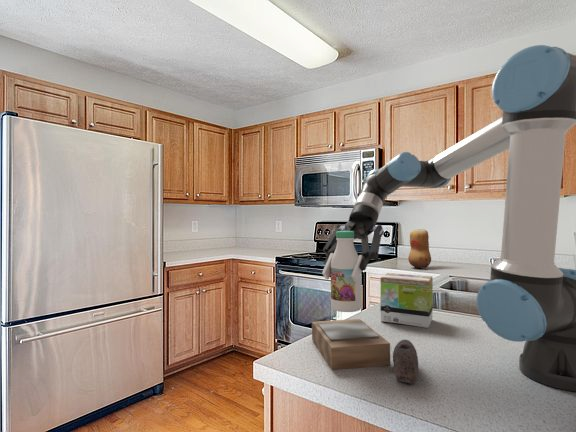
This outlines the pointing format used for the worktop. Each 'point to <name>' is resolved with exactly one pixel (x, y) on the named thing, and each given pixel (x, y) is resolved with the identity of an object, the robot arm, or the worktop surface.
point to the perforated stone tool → (405, 362)
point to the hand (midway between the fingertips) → (339, 277)
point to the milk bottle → (345, 275)
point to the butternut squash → (419, 249)
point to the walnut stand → (350, 344)
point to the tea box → (407, 299)
